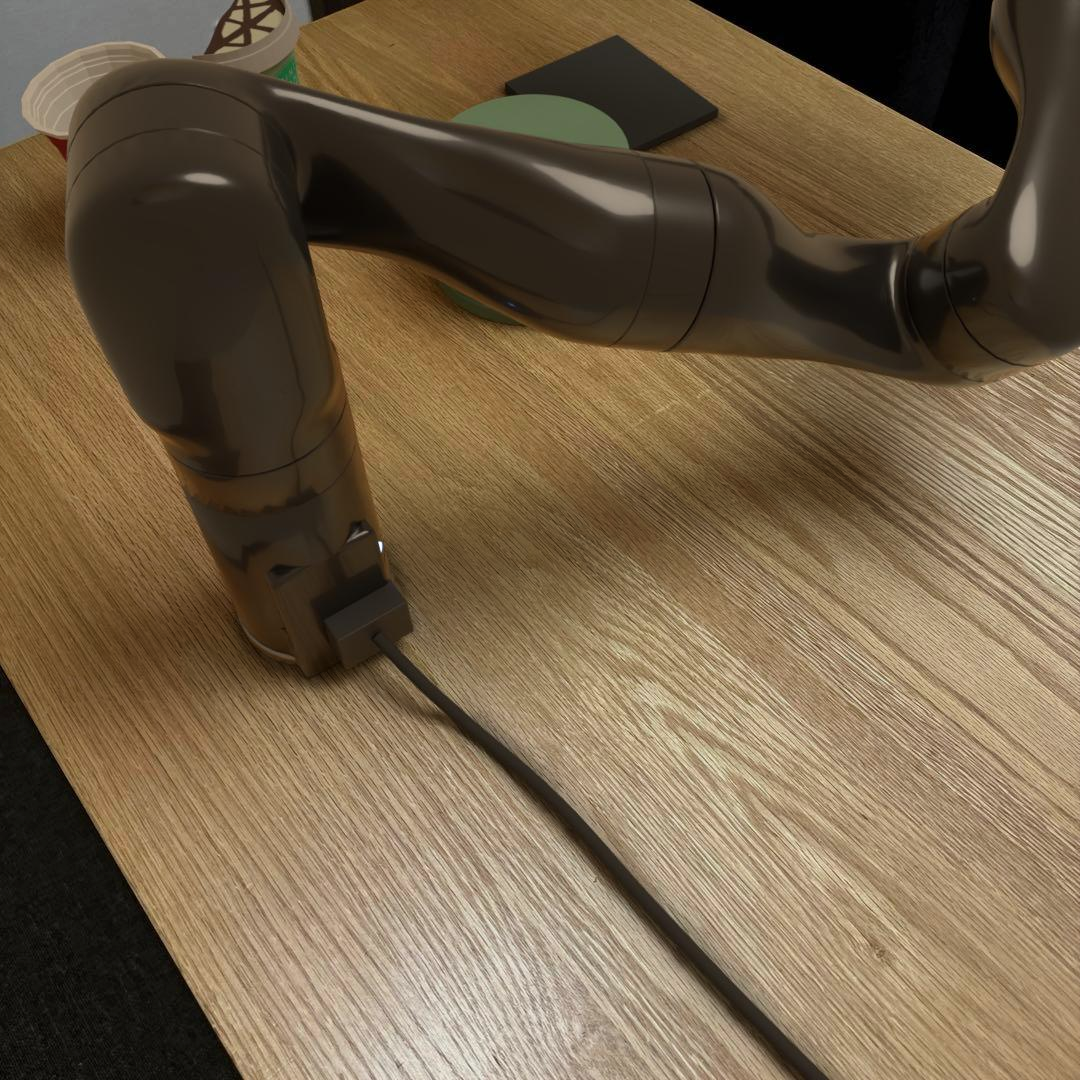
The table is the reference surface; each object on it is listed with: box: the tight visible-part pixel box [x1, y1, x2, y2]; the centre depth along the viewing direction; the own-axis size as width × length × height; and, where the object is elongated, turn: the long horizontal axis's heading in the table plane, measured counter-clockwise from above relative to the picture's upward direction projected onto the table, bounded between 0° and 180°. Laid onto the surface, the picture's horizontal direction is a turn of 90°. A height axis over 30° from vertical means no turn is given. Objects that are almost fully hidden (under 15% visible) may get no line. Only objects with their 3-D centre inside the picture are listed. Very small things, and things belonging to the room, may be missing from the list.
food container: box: [191, 0, 300, 85], centre depth 96 cm, size 12×6×10 cm, turn 171°
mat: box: [504, 34, 719, 152], centre depth 100 cm, size 14×12×1 cm
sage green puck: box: [435, 94, 629, 326], centre depth 86 cm, size 15×15×9 cm
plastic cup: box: [20, 40, 167, 163], centre depth 89 cm, size 11×11×12 cm
